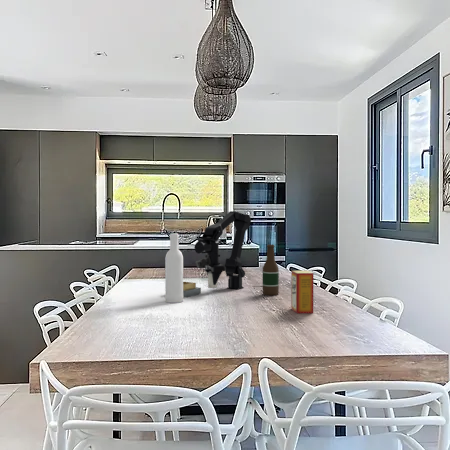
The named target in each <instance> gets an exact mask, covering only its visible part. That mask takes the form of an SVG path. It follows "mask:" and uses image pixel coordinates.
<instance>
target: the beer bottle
mask: <svg viewBox="0 0 450 450" xmlns="http://www.w3.org/2000/svg"><path fill="white" fill-rule="evenodd" d="M266 245H267V246H266V249H267V252H266V260H265V263H264V264H263V266H262V295H264V296H274V297H276V296H278V295H279V291H280V289H279V288H280V285H279V284H280V281H279V280H280V279H279V277H280V276H279V275H280V270H279V266H278V263H277V262H276V259H275V257H276V256H275V244H266Z"/></svg>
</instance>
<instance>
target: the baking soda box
mask: <svg viewBox="0 0 450 450" xmlns="http://www.w3.org/2000/svg"><path fill="white" fill-rule="evenodd" d="M290 278H291V285H290V286H291V288H290V289H291V292H290V293H291V294H290V295H291V302H290V303H291V306H290V307H291V310H292V311H293V312H294V313H295V314H314V273H313V272H312V271H310V270H308V269H307V270H291V277H290Z"/></svg>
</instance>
